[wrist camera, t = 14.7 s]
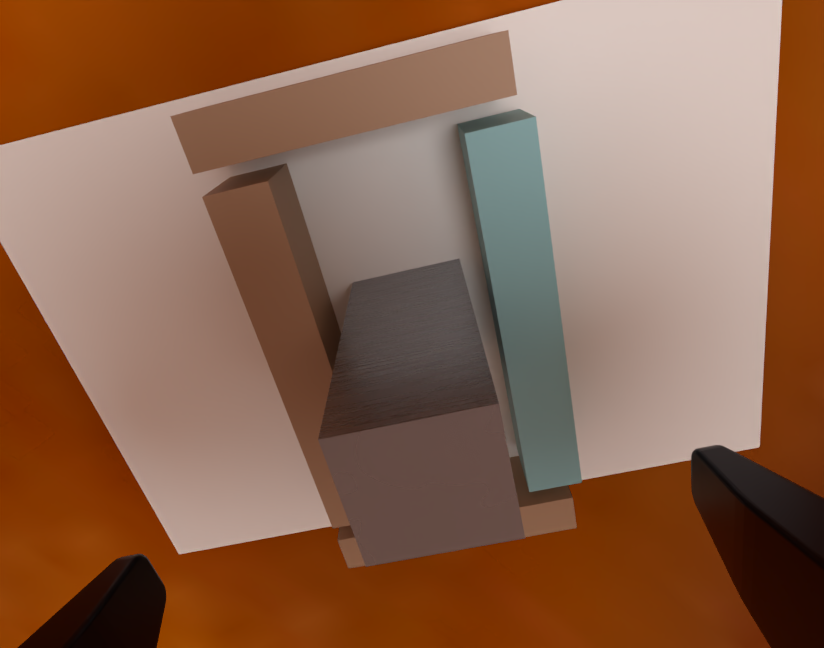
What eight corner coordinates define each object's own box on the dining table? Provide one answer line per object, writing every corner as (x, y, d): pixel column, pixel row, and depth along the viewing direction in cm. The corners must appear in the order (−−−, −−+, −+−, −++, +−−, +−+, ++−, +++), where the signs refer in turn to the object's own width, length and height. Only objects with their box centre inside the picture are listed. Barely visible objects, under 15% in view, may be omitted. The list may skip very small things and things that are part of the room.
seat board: (758, -50, 13) (859, -79, 10) (742, 428, 19) (803, 495, 16) (-21, 151, 15) (-123, 175, 12) (188, 532, 21) (154, 610, 18)
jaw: (519, 108, 13) (535, 116, 12) (565, 442, 17) (582, 482, 16) (457, 123, 13) (464, 133, 12) (517, 451, 18) (529, 492, 16)
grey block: (459, 258, 15) (499, 403, 9) (478, 352, 17) (525, 537, 10) (352, 282, 16) (317, 440, 9) (379, 373, 17) (365, 566, 10)
